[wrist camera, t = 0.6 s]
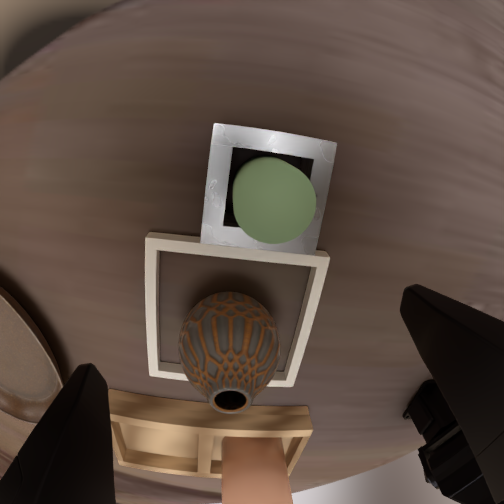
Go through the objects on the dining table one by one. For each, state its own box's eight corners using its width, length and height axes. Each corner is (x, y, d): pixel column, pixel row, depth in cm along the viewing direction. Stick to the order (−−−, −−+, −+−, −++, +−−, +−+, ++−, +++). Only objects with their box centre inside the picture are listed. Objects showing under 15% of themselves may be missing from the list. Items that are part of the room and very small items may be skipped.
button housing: (322, 140, 19) (337, 142, 17) (303, 239, 22) (314, 255, 19) (216, 124, 19) (213, 122, 16) (204, 227, 21) (200, 243, 18)
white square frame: (325, 251, 22) (330, 257, 21) (290, 377, 27) (292, 386, 26) (149, 231, 21) (145, 237, 20) (151, 366, 26) (149, 375, 24)
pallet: (307, 406, 29) (313, 429, 26) (284, 457, 33) (287, 478, 30) (109, 388, 27) (101, 411, 24) (124, 444, 31) (119, 464, 28)
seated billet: (288, 427, 28) (302, 501, 20) (275, 457, 31) (285, 521, 22) (223, 426, 28) (225, 503, 19) (219, 456, 30) (220, 522, 22)
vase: (176, 338, 25) (159, 421, 16) (198, 265, 22) (183, 342, 14) (254, 358, 26) (265, 441, 18) (286, 292, 24) (313, 372, 15)
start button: (302, 160, 18) (323, 170, 14) (291, 222, 20) (307, 248, 16) (236, 150, 18) (239, 157, 14) (228, 214, 19) (228, 239, 15)
